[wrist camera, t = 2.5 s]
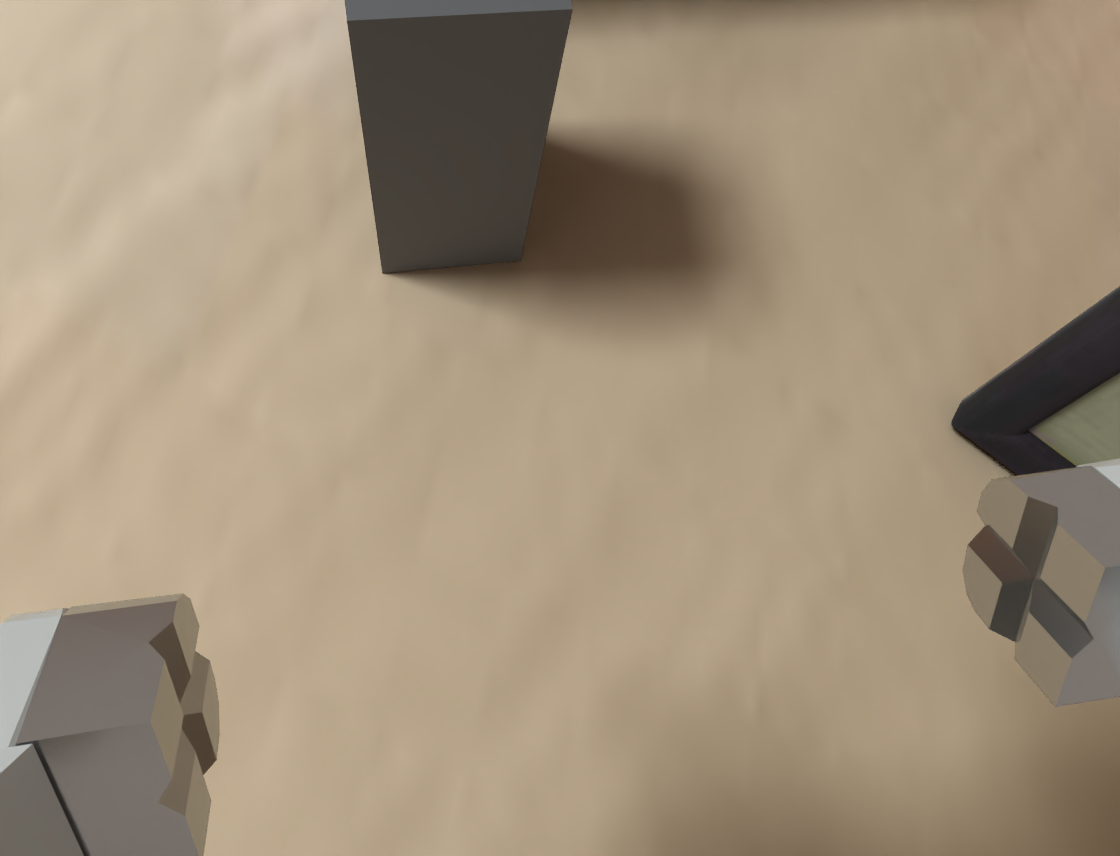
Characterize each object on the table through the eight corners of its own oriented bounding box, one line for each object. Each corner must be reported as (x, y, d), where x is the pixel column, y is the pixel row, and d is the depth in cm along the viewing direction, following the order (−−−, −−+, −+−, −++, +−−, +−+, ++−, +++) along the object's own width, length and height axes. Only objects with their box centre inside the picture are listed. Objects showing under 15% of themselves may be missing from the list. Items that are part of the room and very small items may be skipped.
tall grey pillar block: (499, 120, 29) (534, -200, 18) (520, 260, 28) (572, 9, 17) (365, 129, 28) (320, -196, 17) (382, 273, 27) (347, 20, 16)
